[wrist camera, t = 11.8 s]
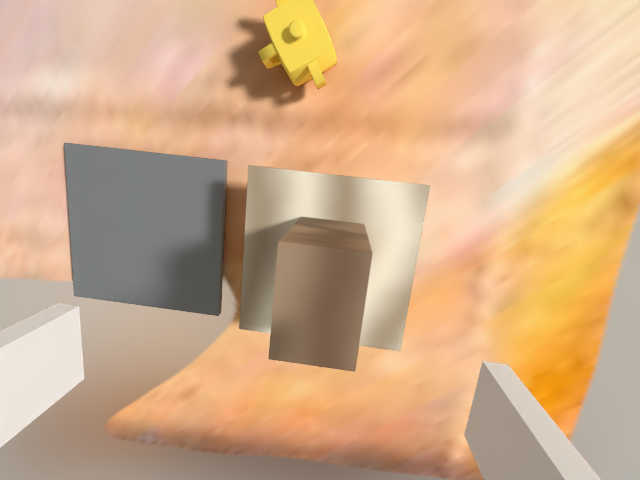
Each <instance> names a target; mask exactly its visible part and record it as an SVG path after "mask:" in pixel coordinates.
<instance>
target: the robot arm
mask: <svg viewBox="0 0 640 480" xmlns="http://www.w3.org/2000/svg"><path fill="white" fill-rule="evenodd" d="M83 379H84V369H83V354H82V339H81V325H80V310H79V306H74V305H67V304H60V303H56V304H54V305H52V306H50V307H48V308H46V309H44V310H42V311H40V312H38V313H36V314H34V315H32V316H30V317H27V318H25V319H23V320H21V321H19V322H17V323H15V324H13V325H11V326H9V327H7V328H5V329H3V330H1V331H0V447H1V446H2V445H4V444H5V443H6V442H8V441H9V440H10V439H11V438H12V437H14V436H15V435H16V434H17V433H18V432H20V431H21V430H22V429H23V428H25V427H26V426H27V425H28V424H30V423H31V422H32V421H33V420H34V419H36V418H37V417H38V416H39V415H41V414H42V413H43V412H44V411H45V410H47V409H48V408H49V407H50V406H52V405H53V404H54V403H55V402H56V401H58V400H59V399H60V398H61V397H62V396H64V395H65V394H66V393H67V392H69V391H70V390H71V389H72V388H73V387H75V386H76V385H77V384H78V383H80V382H81V381H82V380H83ZM464 435H465V437H466V440H467V442H468V444H469V447H470V449H471V451H472V453H473V456H474V458H475V460H476V463H477V465H478V467H479V469H480V472H481V474H482V476H483V479H484V480H600V478H599V477H598V476H597V474H596V473H595V472H594V471H593V469H592V468H591V467H590V466H589V464H588V463H587V462H586V461H585V460H584V458H583V457H582V456H581V455H580V453H579V452H578V451H577V450H576V448H575V447H574V446H573V445H572V443H571V442H570V441H569V440H568V438H567V437H566V436H565V435H564V433H563V432H562V431H561V430H560V429H559V427H558V426H557V425H556V424H555V422H554V421H553V420H552V419H551V417H550V416H549V415H548V414H547V412H546V411H545V410H544V409H543V407H542V406H541V405H540V404H539V403H538V401H537V400H536V399H535V398H534V396H533V395H532V394H531V393H530V391H529V390H528V389H527V388H526V386H525V385H524V384H523V383H522V381H521V380H520V379H519V378H518V377H517V375H516V374H515V373H514V372H513V370H512V369H511V368H510V367H509V365H507V364H500V363H492V362H485V361H483V362H482V366H481V370H480V374H479V378H478V382H477V386H476V390H475V394H474V398H473V402H472V406H471V410H470V414H469V418H468V422H467V426H466V430H465V434H464Z"/></svg>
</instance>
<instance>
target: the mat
mask: <svg viewBox="0 0 640 480" xmlns="http://www.w3.org/2000/svg"><path fill="white" fill-rule="evenodd" d="M64 150H65V165H66V180H67V195H68V210H69V225H70V240H71V256H72V271H73V285H74V296H78V297H86V298H93V299H100V300H107V301H114V302H122V303H129V304H136V305H144V306H151V307H158V308H166V309H172V310H181V311H187V312H194V313H202V314H209V315H216V316H218V315H219V314H220V313H221V301H222V277H223V253H224V229H225V205H226V181H227V161H225V160H216V159H207V158H198V157H189V156H180V155H171V154H162V153H153V152H144V151H135V150H125V149H116V148H107V147H98V146H89V145H80V144H71V143H64Z"/></svg>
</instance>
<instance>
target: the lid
mask: <svg viewBox="0 0 640 480" xmlns="http://www.w3.org/2000/svg"><path fill="white" fill-rule="evenodd" d="M429 189H430V185H423V184H414V183H405V182H396V181H387V180H378V179H369V178H360V177H351V176H342V175H333V174H324V173H315V172H306V171H297V170H288V169H279V168H270V167H261V166H252V165H248V182H247V200H246V218H245V236H244V253H243V271H242V289H241V307H240V325H239V329H244V330H251V331H258V332H265V333H271V336H270V349H269V359H271V360H278V361H285V362H292V363H299V364H306V365H313V366H320V367H327V368H334V369H341V370H347V371H354V372H355V369H356V362H357V356H358V349H359V346H366V347H373V348H380V349H387V350H394V351H400V350H401V345H402V339H403V334H404V328H405V322H406V317H407V311H408V306H409V300H410V295H411V289H412V284H413V278H414V272H415V267H416V261H417V256H418V250H419V245H420V239H421V234H422V228H423V222H424V217H425V211H426V206H427V200H428V195H429Z"/></svg>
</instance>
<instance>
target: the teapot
mask: <svg viewBox="0 0 640 480" xmlns="http://www.w3.org/2000/svg"><path fill="white" fill-rule="evenodd" d="M276 3H277V6H278V7H277V8H275V9H273V10H272V11H270V12H269V13H267V14H266V15H264V16H263V19H264V22H265V26H266V29H267V31H268V34H269V37H270V39H271V42H272V43H271V44H269V45H267V46H266V47H264V48H263V49H261V50H260V51H258V53H259V55H260V57H261V60H262V62H263V63H264V65H265V66H266V68H267V69H269V68H272V67H275V66H278V65H280V64H282V65H283V67H284V69H285V71H286V73H287V74H288V76H289V78H290V79H291V81H292V83H293V84H294V85H295V86H300V85H302V84H304V83H305V82H307V81H309V80H311V79H313V80H314V82H315V84H316V86H317V89H320V88H321V87H323V86H325V85H326V82H325V79H324V76H323V74H322V73H323V72H325V71H327V70H328V69H330V68H332V67H333V66H335V65H336V63H337V57H336V53H335V50H334V47H333V44H332V41H331V39H330V36H329V34H328V31H327V29H326V26H325V24H324V22H323V20H322V18H321V16H320V14H319V12H318V10H317V8H316V6H315V4H314V2H313V0H276Z"/></svg>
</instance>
